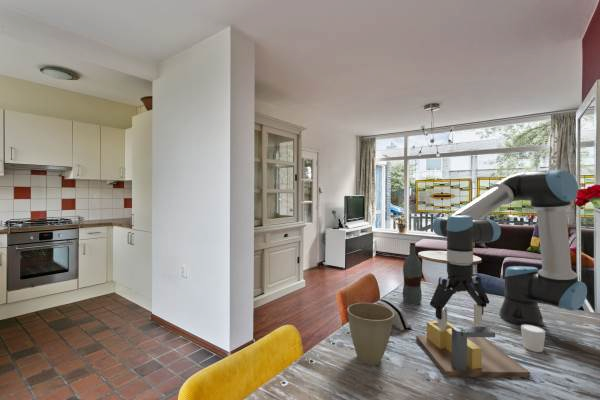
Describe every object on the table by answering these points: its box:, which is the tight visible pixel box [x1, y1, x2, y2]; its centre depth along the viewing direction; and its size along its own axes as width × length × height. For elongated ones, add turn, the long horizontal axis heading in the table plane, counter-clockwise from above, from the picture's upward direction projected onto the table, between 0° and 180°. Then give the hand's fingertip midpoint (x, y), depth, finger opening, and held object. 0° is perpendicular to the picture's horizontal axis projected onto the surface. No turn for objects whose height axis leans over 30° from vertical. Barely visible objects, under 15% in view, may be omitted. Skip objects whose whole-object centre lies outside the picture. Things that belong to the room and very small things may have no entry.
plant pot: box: [347, 302, 394, 366], centre depth 95 cm, size 15×15×16 cm
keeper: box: [451, 325, 496, 371], centre depth 87 cm, size 11×4×13 cm, turn 90°
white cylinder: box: [520, 324, 547, 353], centre depth 102 cm, size 7×7×7 cm
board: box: [415, 335, 531, 378], centre depth 97 cm, size 25×22×2 cm
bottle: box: [402, 242, 423, 306], centre depth 146 cm, size 9×9×30 cm
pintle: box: [443, 306, 448, 329], centre depth 103 cm, size 2×2×14 cm
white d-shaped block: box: [375, 298, 413, 331], centre depth 123 cm, size 17×5×10 cm, turn 17°
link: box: [426, 320, 482, 369], centre depth 97 cm, size 20×8×6 cm, turn 10°
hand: (459, 326), depth 95 cm, fingers open, 13 cm apart
